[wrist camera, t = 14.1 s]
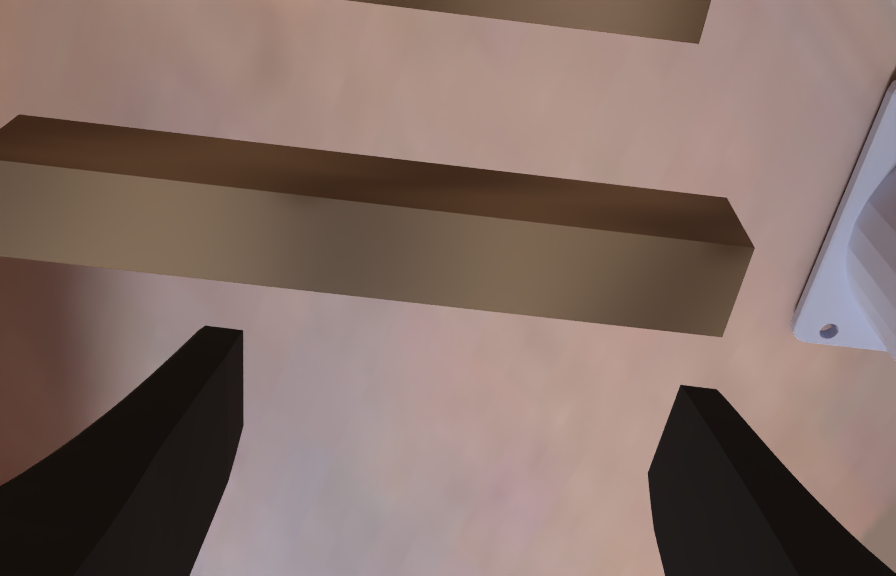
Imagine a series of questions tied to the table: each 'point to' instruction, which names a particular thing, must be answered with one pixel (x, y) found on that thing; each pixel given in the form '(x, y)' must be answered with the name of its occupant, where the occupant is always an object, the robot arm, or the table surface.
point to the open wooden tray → (585, 14)
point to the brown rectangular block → (368, 226)
